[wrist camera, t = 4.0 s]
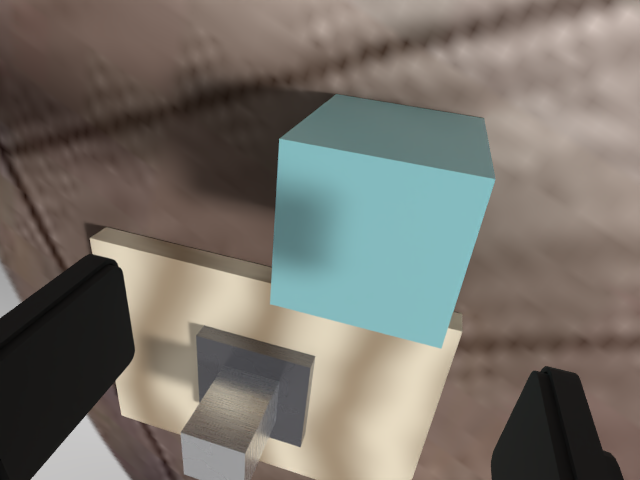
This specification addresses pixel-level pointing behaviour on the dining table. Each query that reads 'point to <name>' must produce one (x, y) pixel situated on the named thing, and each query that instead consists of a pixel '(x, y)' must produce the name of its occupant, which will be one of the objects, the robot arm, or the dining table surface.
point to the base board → (282, 330)
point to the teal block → (379, 215)
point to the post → (243, 404)
